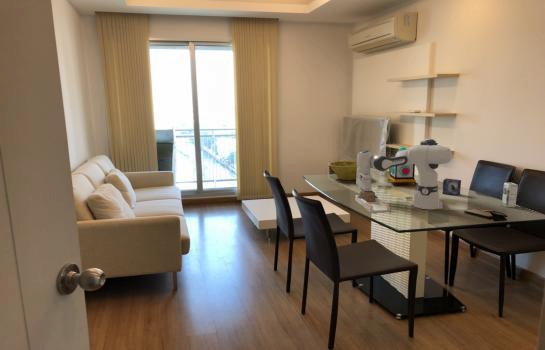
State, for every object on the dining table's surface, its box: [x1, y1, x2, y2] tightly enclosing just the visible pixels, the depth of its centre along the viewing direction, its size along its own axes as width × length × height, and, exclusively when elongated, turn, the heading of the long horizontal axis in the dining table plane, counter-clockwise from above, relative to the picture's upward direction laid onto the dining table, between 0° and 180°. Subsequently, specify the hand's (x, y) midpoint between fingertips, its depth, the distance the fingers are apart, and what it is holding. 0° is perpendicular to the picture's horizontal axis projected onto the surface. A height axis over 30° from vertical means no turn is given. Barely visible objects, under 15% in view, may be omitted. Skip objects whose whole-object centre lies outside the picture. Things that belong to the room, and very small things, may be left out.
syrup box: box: [501, 182, 519, 208], centre depth 244 cm, size 6×6×14 cm
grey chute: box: [354, 194, 390, 213], centre depth 253 cm, size 30×12×4 cm, turn 6°
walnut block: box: [359, 190, 376, 202], centre depth 261 cm, size 6×8×6 cm
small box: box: [441, 177, 462, 197], centre depth 277 cm, size 11×6×10 cm, turn 47°
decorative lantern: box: [387, 146, 417, 187], centre depth 311 cm, size 20×20×30 cm
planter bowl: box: [328, 160, 357, 181], centre depth 337 cm, size 32×32×13 cm
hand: (362, 193), depth 270 cm, fingers closed
